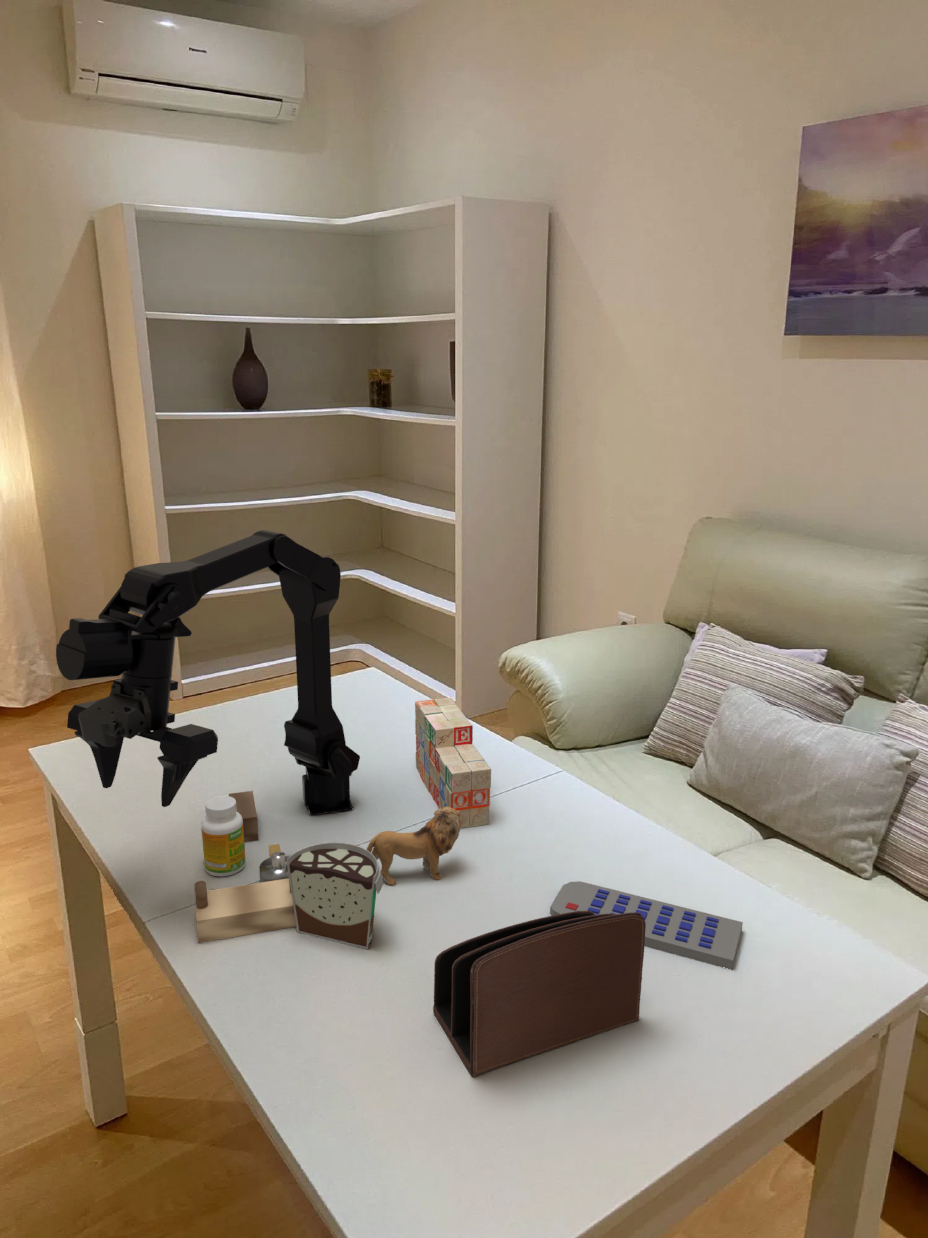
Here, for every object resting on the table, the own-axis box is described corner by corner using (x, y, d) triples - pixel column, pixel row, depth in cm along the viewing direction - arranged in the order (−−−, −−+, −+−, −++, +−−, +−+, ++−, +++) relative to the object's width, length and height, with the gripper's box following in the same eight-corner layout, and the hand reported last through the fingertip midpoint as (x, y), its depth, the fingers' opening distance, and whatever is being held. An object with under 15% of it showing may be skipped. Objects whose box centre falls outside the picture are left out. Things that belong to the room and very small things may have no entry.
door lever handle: (292, 854, 127) (291, 830, 126) (300, 888, 120) (299, 862, 118) (256, 859, 126) (254, 835, 125) (261, 894, 118) (260, 868, 117)
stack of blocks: (490, 825, 136) (492, 750, 132) (449, 831, 134) (450, 754, 130) (450, 763, 155) (451, 695, 152) (414, 767, 154) (414, 699, 150)
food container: (400, 922, 113) (399, 851, 110) (379, 952, 107) (378, 878, 104) (310, 902, 117) (307, 832, 114) (286, 930, 111) (282, 858, 108)
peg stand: (298, 897, 118) (297, 856, 116) (305, 925, 112) (303, 882, 110) (197, 913, 114) (193, 871, 112) (198, 943, 109) (194, 899, 107)
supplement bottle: (235, 880, 121) (230, 814, 118) (197, 875, 122) (192, 810, 119) (252, 858, 126) (248, 795, 123) (215, 853, 127) (211, 791, 124)
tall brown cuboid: (254, 814, 138) (252, 790, 137) (258, 841, 131) (257, 816, 130) (230, 817, 137) (228, 793, 136) (233, 845, 130) (231, 820, 129)
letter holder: (640, 1022, 97) (650, 908, 93) (471, 1080, 89) (474, 958, 85) (590, 965, 106) (597, 858, 102) (432, 1014, 98) (432, 900, 94)
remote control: (731, 975, 105) (733, 959, 105) (546, 922, 114) (546, 907, 113) (741, 935, 112) (743, 920, 112) (565, 888, 121) (566, 874, 120)
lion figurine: (453, 855, 128) (454, 797, 125) (466, 875, 123) (468, 816, 120) (350, 874, 123) (349, 815, 120) (360, 896, 118) (359, 835, 115)
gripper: (35, 665, 106) (25, 794, 108) (162, 699, 99) (149, 836, 101) (106, 655, 116) (96, 772, 118) (226, 685, 109) (213, 809, 112)
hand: (136, 796), depth 112 cm, fingers open, 9 cm apart
